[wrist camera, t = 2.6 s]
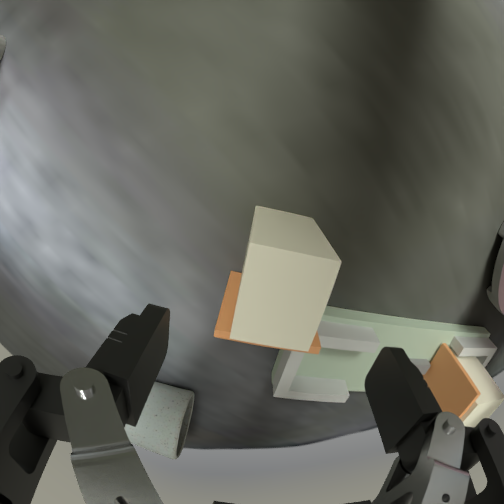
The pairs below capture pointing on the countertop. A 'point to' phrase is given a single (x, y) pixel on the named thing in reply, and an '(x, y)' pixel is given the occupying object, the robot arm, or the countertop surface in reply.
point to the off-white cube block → (280, 284)
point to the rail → (402, 336)
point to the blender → (498, 278)
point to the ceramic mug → (163, 421)
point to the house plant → (2, 45)
